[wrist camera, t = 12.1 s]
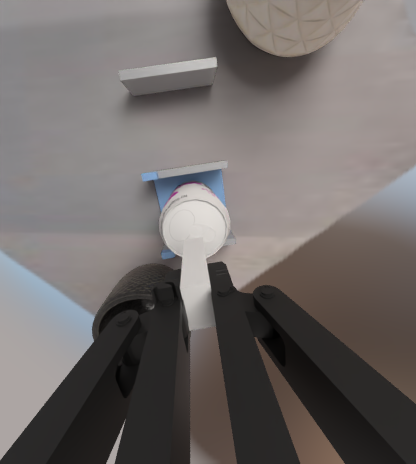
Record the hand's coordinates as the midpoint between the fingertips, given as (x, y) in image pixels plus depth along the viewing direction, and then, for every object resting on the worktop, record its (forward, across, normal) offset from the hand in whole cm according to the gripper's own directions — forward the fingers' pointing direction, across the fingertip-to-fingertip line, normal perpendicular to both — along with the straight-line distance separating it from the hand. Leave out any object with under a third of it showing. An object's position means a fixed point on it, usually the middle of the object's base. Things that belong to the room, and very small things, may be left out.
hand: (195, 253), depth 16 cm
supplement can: (+21, 0, 0) cm, 21 cm away
